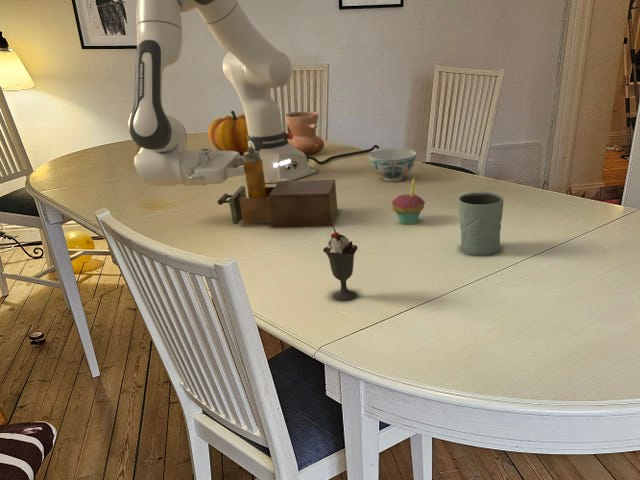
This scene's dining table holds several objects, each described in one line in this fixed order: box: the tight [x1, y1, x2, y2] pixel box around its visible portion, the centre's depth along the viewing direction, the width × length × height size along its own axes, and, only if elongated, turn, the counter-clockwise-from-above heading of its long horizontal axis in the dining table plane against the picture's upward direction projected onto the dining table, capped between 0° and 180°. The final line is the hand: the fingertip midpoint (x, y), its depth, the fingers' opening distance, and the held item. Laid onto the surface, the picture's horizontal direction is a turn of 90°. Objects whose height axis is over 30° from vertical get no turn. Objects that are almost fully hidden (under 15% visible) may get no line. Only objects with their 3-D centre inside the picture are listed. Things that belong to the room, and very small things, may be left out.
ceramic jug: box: [284, 111, 325, 156], centre depth 242 cm, size 18×14×14 cm
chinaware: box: [368, 148, 417, 182], centre depth 206 cm, size 15×15×8 cm
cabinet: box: [269, 179, 338, 228], centre depth 174 cm, size 16×14×9 cm
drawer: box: [217, 185, 275, 225], centre depth 175 cm, size 19×12×7 cm, turn 87°
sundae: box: [322, 223, 358, 302], centre depth 127 cm, size 7×7×15 cm
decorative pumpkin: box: [207, 110, 249, 154], centre depth 250 cm, size 20×22×15 cm
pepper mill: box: [243, 147, 267, 198], centre depth 172 cm, size 5×5×17 cm
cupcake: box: [391, 175, 426, 225], centre depth 167 cm, size 9×8×12 cm
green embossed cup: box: [457, 191, 505, 257], centre depth 147 cm, size 10×10×12 cm
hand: (249, 166), depth 170 cm, fingers open, 8 cm apart
